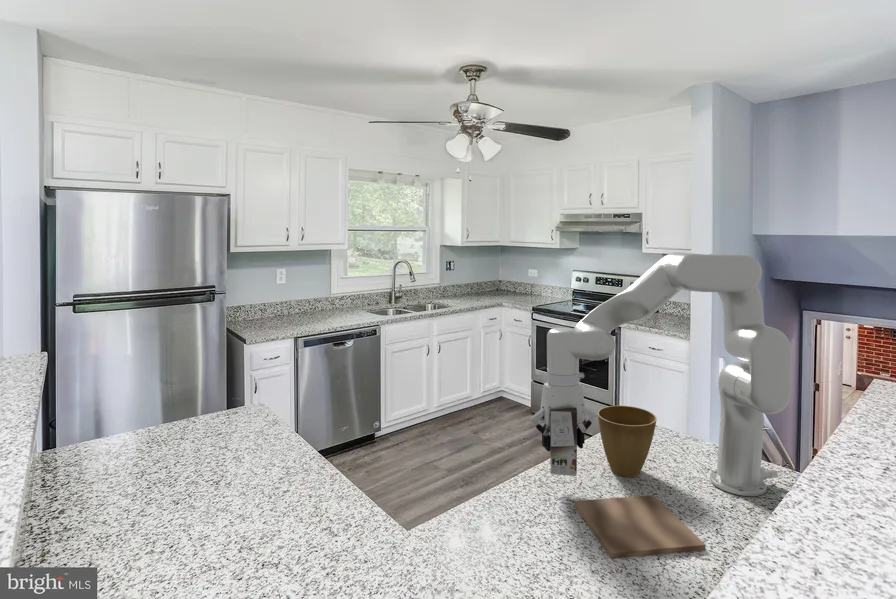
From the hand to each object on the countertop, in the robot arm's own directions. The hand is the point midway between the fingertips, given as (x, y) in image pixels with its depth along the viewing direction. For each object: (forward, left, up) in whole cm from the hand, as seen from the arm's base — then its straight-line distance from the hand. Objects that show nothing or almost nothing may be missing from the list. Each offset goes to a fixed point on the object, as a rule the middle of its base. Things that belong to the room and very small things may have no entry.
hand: (563, 447), depth 125 cm
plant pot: (-20, -8, -12) cm, 25 cm away
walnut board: (-10, +17, -12) cm, 23 cm away
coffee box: (0, 0, -5) cm, 5 cm away
